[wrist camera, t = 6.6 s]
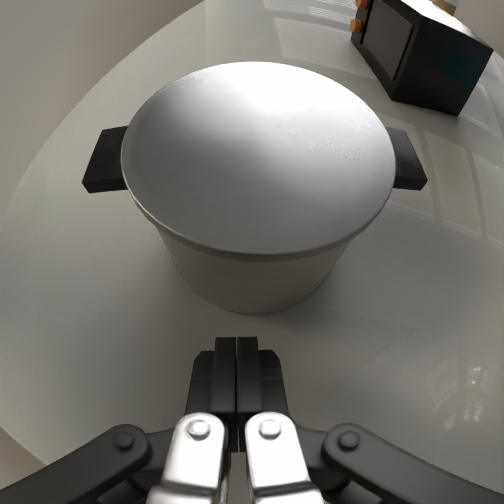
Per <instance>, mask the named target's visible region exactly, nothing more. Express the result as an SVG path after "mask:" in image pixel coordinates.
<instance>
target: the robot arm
mask: <svg viewBox="0 0 504 504" xmlns="http://www.w3.org/2000/svg"><path fill="white" fill-rule="evenodd" d="M192 371H193V372H192V375H191V381H190V387H189V393H188V398H187V404H186V410H185V415H184V417H183V418H181V419H180V420H179V421H178V423H177V424H176V426H175V427H173V428H171V429H168V430H165V431H160V432H154V433H147V434H146V433H145V432H144V431H143V430H142V429H141V428H139V427H137V426H135V425H131V424H121V425H117V426H114V427H113V428H111V429H109V430H108V431H106V432H104V433H103V434H101V435H100V436H98V437H96V438H95V439H93V440H91V441H90V442H88V443H86V444H85V445H83V446H81V447H80V448H78V449H76V450H75V451H73V452H71V453H69V454H68V455H66V456H64V457H62V458H61V459H59V460H57V461H55V462H54V463H52V464H50V465H48V466H46V467H44V468H43V469H41V470H39V471H37V472H35V473H33V474H31V475H29V476H27V477H25V478H23V479H22V480H20V481H18V482H16V483H14V484H12V485H9V486H7V487H5V488H3V489H1V490H0V504H227V498H228V488H229V478H230V469H231V452H238V431H239V446H240V452H246V470H247V479H248V487H249V494H250V501H251V504H324V502H323V499H325V500H326V501H327V502H329V503H330V504H504V494H501V493H498V492H495V491H493V490H490V489H488V488H485V487H482V486H480V485H477V484H475V483H473V482H470V481H468V480H465V479H463V478H461V477H458V476H456V475H454V474H452V473H450V472H447V471H445V470H443V469H441V468H439V467H437V466H435V465H432V464H430V463H428V462H426V461H424V460H422V459H420V458H418V457H416V456H414V455H412V454H411V453H409V452H407V451H405V450H403V449H401V448H399V447H397V446H395V445H394V444H392V443H390V442H388V441H386V440H384V439H383V438H381V437H379V436H377V435H376V434H374V433H372V432H370V431H369V430H367V429H365V428H363V427H362V426H360V425H357V424H352V423H343V424H339V425H336V426H334V427H332V428H331V429H330V430H329V431H328V432H325V431H317V430H311V429H307V428H304V427H302V426H300V425H298V424H297V423H296V422H294V421H293V419H292V418H291V416H290V414H289V411H288V405H287V400H286V394H285V388H284V382H283V377H282V371H281V365H280V360H279V358H278V356H277V355H276V354H275V353H274V352H273V350H258V341H257V337H237V354H236V337H216V339H215V349H214V351H201V352H200V353H199V355H198V356H197V357H196V358H195V360H194V364H193V370H192ZM322 498H323V499H322Z"/></svg>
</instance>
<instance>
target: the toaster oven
mask: <svg viewBox="0 0 504 504" xmlns="http://www.w3.org/2000/svg"><path fill="white" fill-rule="evenodd" d="M356 6H357V7H358V9H357V14H356V18H355V19H352V20H351V24H350V28H351V31H352V36H351V41H352V43H353V44H354V45H355V47H356V48H357V49H358V51H359V52H360V53H361V55H362V56H363V58H364V59H365V60H366V62H367V63H368V65H369V66H370V68H371V69H372V71H373V72H374V74H375V75H376V77H377V78H378V80H379V81H380V83H381V84H382V86H383V87H384V89H385V91H386V92H387V94H388V95H389V97H390V99H391V100H394V101H398V102H403V103H407V104H412V105H416V106H420V107H424V108H428V109H432V110H435V111H439V112H442V113H446V114H449V115H452V116H456V117H458V115H459V114H460V112H461V110H462V108H463V107H464V105H465V103H466V102H467V100H468V98H469V96H470V95H471V93H472V91H473V89H474V87H475V86H476V84H477V82H478V80H479V78H480V76H481V74H482V72H483V71H484V69H485V67H486V65H487V63H488V61H489V59H490V57H491V55H492V53H493V51H494V50H493V49H492V48H491V47H490V46H489V45H488V44H486V43H485V42H484V41H483V40H482V39H481V38H479V37H478V36H477V35H476V34H475V33H473V32H472V31H471V30H469V29H468V28H467V27H466V26H464V25H463V24H462V23H460V22H459V21H458V20H456V19H455V18H454V17H452V16H451V15H449V14H448V13H447V12H445V11H444V10H442V9H441V8H439V7H438V6H436V5H435V4H433V3H432V2H430V1H428V0H356Z"/></svg>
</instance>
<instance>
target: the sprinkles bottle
mask: <svg viewBox="0 0 504 504" xmlns="http://www.w3.org/2000/svg"><path fill="white" fill-rule="evenodd" d="M433 4H435V5H436V6H438V7H439V8H441V9H442V10H444V11H445V12H447V13H448V14H449V15H451V16H452V17H453V15H454V13H455V10H456V7H458V4H459V0H434V1H433Z"/></svg>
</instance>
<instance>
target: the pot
mask: <svg viewBox="0 0 504 504" xmlns="http://www.w3.org/2000/svg"><path fill="white" fill-rule="evenodd" d="M427 181H428V179H427V177H426V175H425V172H424V170H423V168H422V165H421V163H420V161H419V159H418V157H417V154H416V152H415V150H414V148H413V146H412V144H411V142H410V140H409V138H408V136H407V134H406V132H405V131H404V130H398V129H392V128H386V127H384V125H383V123H382V122H381V121H380V119H379V118H378V116H377V115H376V114H375V113H374V112H373V110H372V109H371V108H370V107H369V106H368V105H367V104H366V103H365V102H364V101H362V100H361V99H360V98H359V97H358V96H357V95H355V94H354V93H352V92H351V91H350V90H348V89H347V88H345V87H344V86H342V85H340V84H338V83H337V82H335V81H333V80H331V79H329V78H327V77H324V76H322V75H320V74H317V73H314V72H312V71H309V70H305V69H302V68H298V67H294V66H289V65H284V64H277V63H269V62H238V63H228V64H223V65H217V66H212V67H209V68H205V69H201V70H198V71H196V72H193V73H190V74H188V75H185V76H183V77H181V78H179V79H177V80H175V81H173V82H171V83H170V84H168V85H166V86H165V87H163V88H162V89H161V90H159V91H158V92H156V93H155V94H154V95H153V96H152V97H151V98H149V99H148V100H147V101H146V102H145V103H144V104H143V105H142V107H141V108H140V109H139V110H138V111H137V113H136V114H135V116H134V117H133V119H132V120H131V122H130V124H129V126H123V127H117V128H111V129H105V130H102V132H101V134H100V137H99V139H98V141H97V144H96V146H95V149H94V151H93V153H92V156H91V159H90V161H89V164H88V166H87V169H86V172H85V175H84V178H83V180H82V184H83V185H84V187H85V188H86V190H87V191H88V193H97V192H107V191H118V190H129V192H130V194H131V196H132V198H133V200H134V202H135V203H136V205H137V207H138V208H139V209H140V210H141V212H142V213H143V214H144V215H145V217H146V218H147V219H148V220H149V221H150V222H151V223H152V224H154V225H155V226H156V228H157V230H158V232H159V233H160V235H161V237H162V239H163V241H164V243H165V245H166V247H167V249H168V251H169V253H170V254H171V256H172V258H173V260H174V262H175V264H176V266H177V267H178V269H179V271H180V273H181V274H182V276H183V277H184V279H185V281H186V282H187V283H188V284H189V285H190V287H191V288H192V289H193V290H194V291H195V292H197V293H198V294H199V295H200V296H201V297H203V298H204V299H206V300H207V301H209V302H210V303H212V304H214V305H217V306H219V307H221V308H224V309H227V310H230V311H233V312H239V313H245V314H263V313H271V312H275V311H279V310H283V309H285V308H288V307H291V306H293V305H295V304H296V303H298V302H300V301H302V300H303V299H304V298H306V297H307V296H308V295H310V294H311V293H312V292H313V291H314V290H315V289H316V288H317V287H318V286H319V285H320V283H321V282H322V280H323V279H324V278H325V276H326V275H327V274H328V272H329V271H330V269H331V268H332V267H333V265H334V264H335V262H336V261H337V260H338V258H339V257H340V255H341V254H342V252H343V251H344V249H345V248H346V247H347V245H348V244H349V242H350V241H351V240H352V239H353V238H354V237H356V236H357V235H358V234H360V233H361V232H362V231H363V230H365V229H366V228H367V227H368V226H369V225H370V224H371V223H372V221H373V220H374V219H375V218H376V217H377V216H378V214H379V213H380V211H381V210H382V208H383V207H384V205H385V203H386V202H387V200H388V199H389V197H390V194H391V191H392V189H393V188H396V189H408V190H419V191H420V190H422V188H423V187H424V186H425V184H426V183H427Z"/></svg>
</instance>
